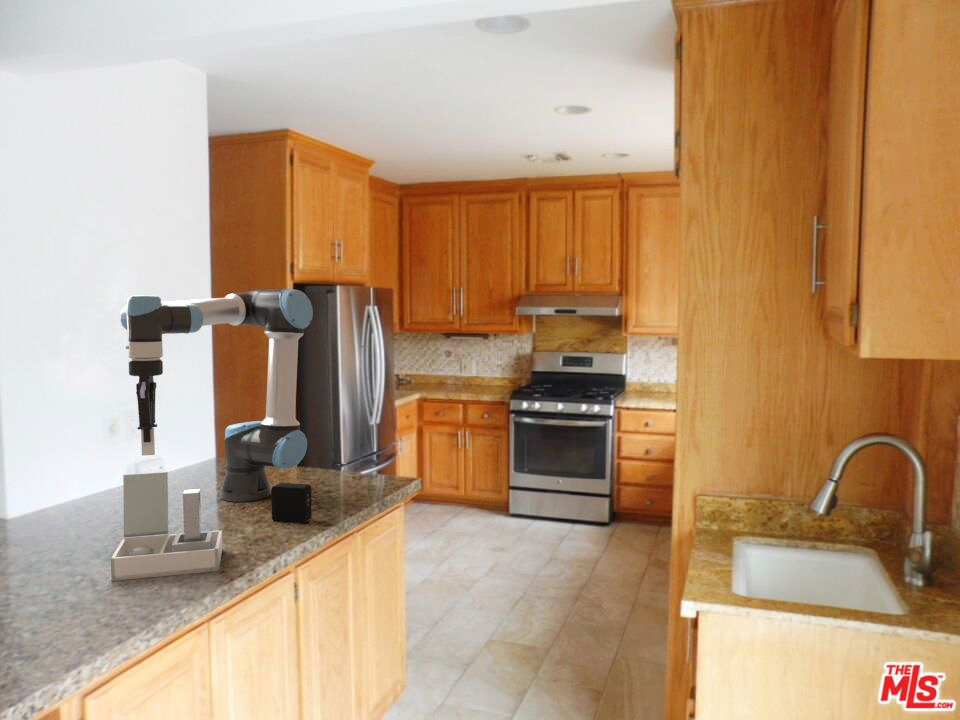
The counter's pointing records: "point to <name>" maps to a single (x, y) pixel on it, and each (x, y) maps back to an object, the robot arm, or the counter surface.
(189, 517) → the rectangular gray bar
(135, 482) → the lid
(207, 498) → the counter surface
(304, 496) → the electronic device
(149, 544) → the housing
